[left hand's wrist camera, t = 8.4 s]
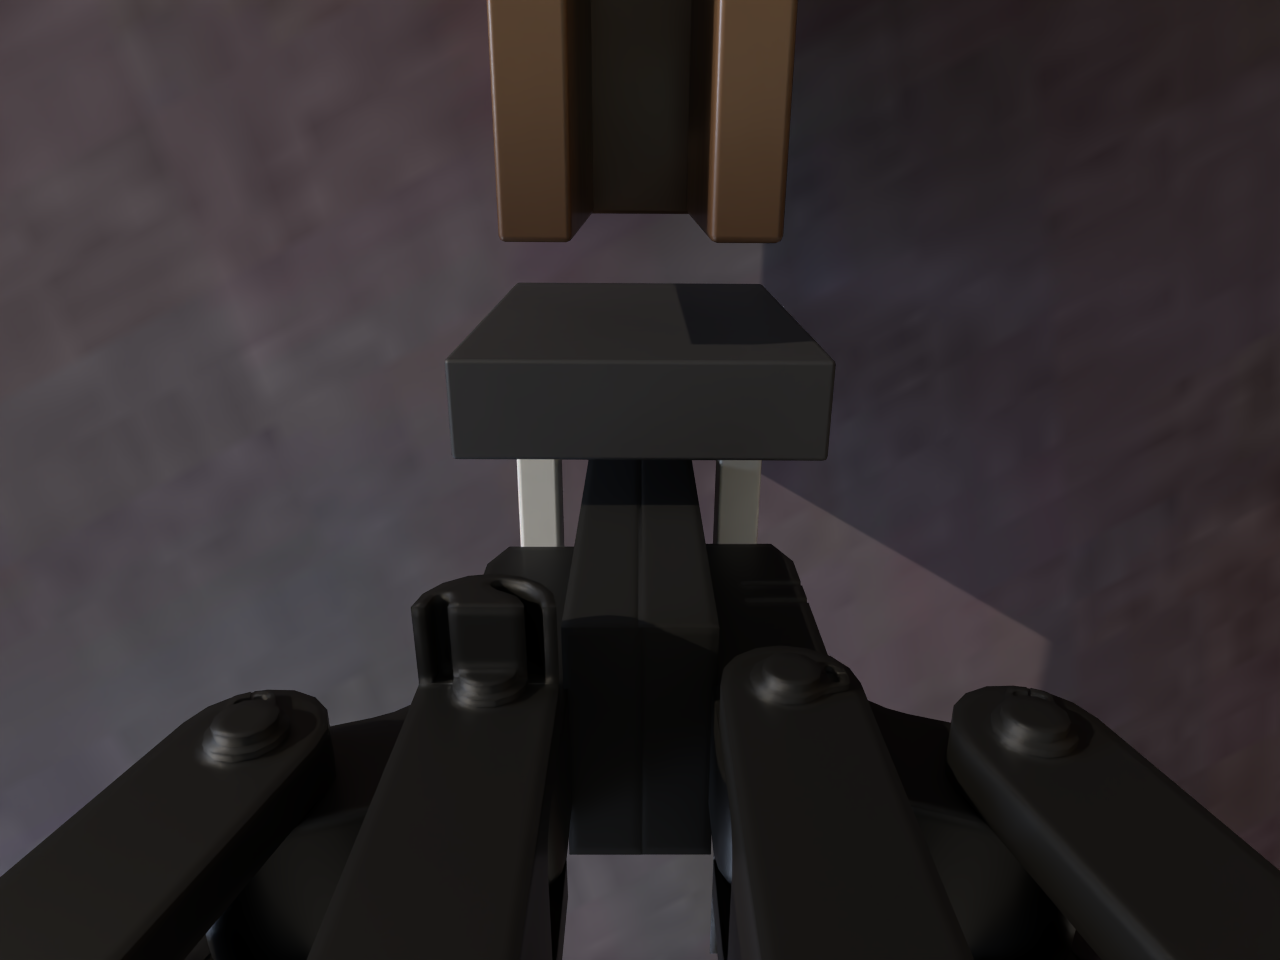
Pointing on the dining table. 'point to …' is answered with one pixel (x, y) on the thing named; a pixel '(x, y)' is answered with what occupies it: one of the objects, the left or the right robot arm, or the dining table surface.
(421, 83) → the dining table surface
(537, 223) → the drawer
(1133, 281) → the dining table surface
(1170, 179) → the dining table surface
